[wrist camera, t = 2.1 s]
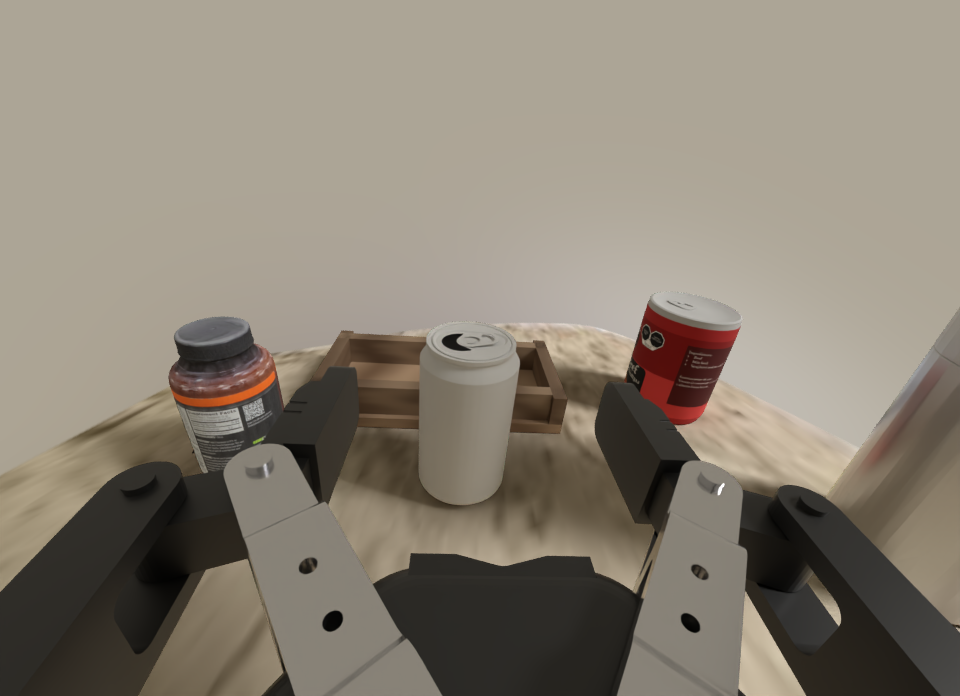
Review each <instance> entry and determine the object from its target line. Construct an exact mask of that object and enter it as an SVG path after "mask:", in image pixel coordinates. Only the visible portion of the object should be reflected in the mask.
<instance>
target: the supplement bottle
mask: <svg viewBox="0 0 960 696" xmlns="http://www.w3.org/2000/svg"><path fill="white" fill-rule="evenodd" d="M174 340H175V343H176V346H177V349H178V354H179V355H180V358H179V360H178V361H177V362H175V364H174V365H173V366H172V368H171V370H170V372H169V384H170V387H171V390H172V393H173V395H174V399H175V401H176V404H177V407H178V410H179V412H180V415H181V417H182V421H183V423H184V427H185V429H186V431H187V433H188V437H189V439H190V442H191V444H192V447H193V452H192V453H194V452H195V455H196V458H197V460H198V463H199V466H200V469H201V470H202V472H203V473H208V472H213V471H218V470H222V469H225V467H226V465H227V463H228V462H229V461H230V460H231V459H232V458H233V457H234V456H235V455H237V454H238V453H240V452H242V451H244V450H246V449H248V448H250V447H253V446H257V445H260V444H261V443H262V441H263V440H264V438H265V437H266V435H267V434H268V432H269V431H270V429H271V428H272V426H273V425H274V423H275V422H276V420H277V419H278V417H279V416H280V415H281V413H283V410H284V405H283V400H282V395H281V390H280V385H279V381H278V376H277V372H276V367H275V363H274V360H273V357H272V355H271V354H270V353H269V352H268V351H267V350H266V349H265V348H263V347H262V346H260V345H258V344H254V343H253V342H254V339H253V337H252V334H251V330H250V326H249V324H248V322H246V321H245V320H243V319H240V318H234V317H212V318H205V319H201V320H197V321H194V322H191V323H189V324H186V325H184V326H183V327H181V328H180V329H179V330H177V331H176V333H175V335H174Z"/></svg>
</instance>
